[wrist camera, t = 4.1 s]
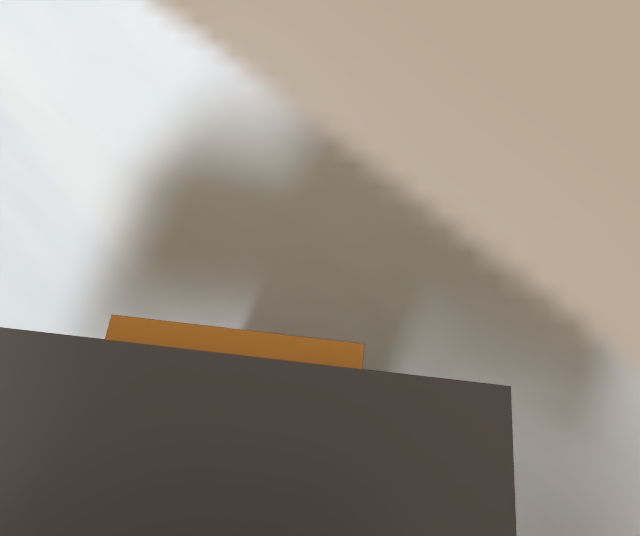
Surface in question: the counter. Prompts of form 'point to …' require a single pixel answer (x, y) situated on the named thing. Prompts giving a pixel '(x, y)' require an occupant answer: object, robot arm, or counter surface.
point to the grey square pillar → (242, 438)
